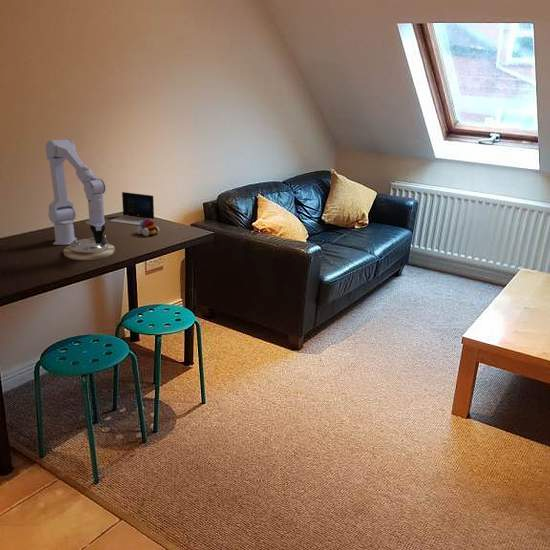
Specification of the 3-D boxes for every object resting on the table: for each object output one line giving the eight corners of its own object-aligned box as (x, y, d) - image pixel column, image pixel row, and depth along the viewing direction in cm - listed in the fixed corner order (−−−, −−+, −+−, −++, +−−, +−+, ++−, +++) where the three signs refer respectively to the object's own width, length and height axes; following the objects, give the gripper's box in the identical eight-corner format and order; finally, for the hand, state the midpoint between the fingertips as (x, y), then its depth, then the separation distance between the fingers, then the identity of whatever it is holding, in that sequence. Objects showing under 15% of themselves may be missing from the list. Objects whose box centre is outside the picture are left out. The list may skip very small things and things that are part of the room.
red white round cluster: (147, 238, 249) (147, 222, 246) (133, 233, 254) (133, 218, 252) (161, 234, 255) (161, 219, 253) (148, 230, 260) (147, 215, 258)
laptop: (109, 222, 272) (107, 196, 268) (123, 216, 284) (122, 191, 279) (141, 226, 267) (140, 200, 263) (154, 220, 279) (153, 195, 274)
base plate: (69, 245, 234) (69, 241, 233) (118, 245, 236) (117, 241, 236) (58, 260, 215) (58, 256, 214) (110, 260, 218) (110, 256, 217)
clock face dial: (74, 243, 231) (73, 230, 229) (111, 243, 233) (110, 230, 231) (66, 254, 217) (64, 240, 215) (105, 254, 219) (104, 241, 217)
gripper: (84, 206, 221) (87, 238, 225) (86, 215, 208) (89, 249, 213) (102, 205, 223) (104, 237, 228) (105, 214, 211) (108, 248, 215)
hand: (98, 243), depth 221 cm, fingers closed
